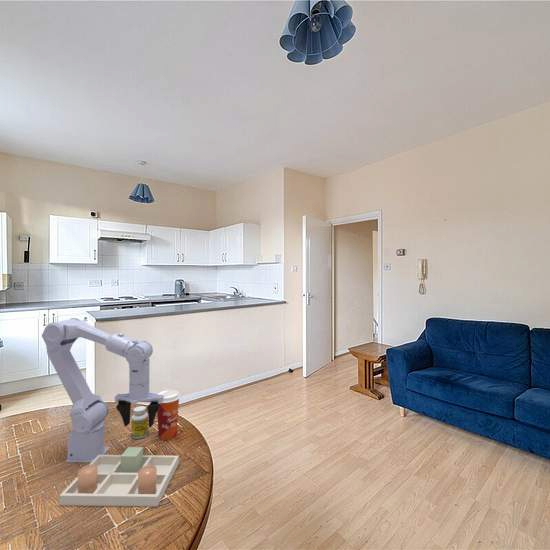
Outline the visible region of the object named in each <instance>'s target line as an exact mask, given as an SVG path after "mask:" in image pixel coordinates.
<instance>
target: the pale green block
mask: <svg viewBox="0 0 550 550" xmlns="http://www.w3.org/2000/svg"><path fill="white" fill-rule="evenodd" d="M120 455H121V473H138V471H139V470H140V469H141V468H142V467H143V455H144V447H143V446H128V447H127V448H126V449H125V451H123V453H122V454H120Z"/></svg>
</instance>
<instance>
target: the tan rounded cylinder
mask: <svg viewBox="0 0 550 550" xmlns="http://www.w3.org/2000/svg"><path fill="white" fill-rule="evenodd" d="M77 477H78V493H86V494H93V493H94V492H95V491H96V489H97V488H98V466H97V465H95V464H91V465H89V464H86V465H85V466H82V467H80V468H79V469H78V471H77Z"/></svg>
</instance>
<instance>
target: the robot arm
mask: <svg viewBox="0 0 550 550" xmlns="http://www.w3.org/2000/svg"><path fill="white" fill-rule="evenodd" d="M41 338H42V339H43V342H44V343H45V347H46V354H47V356H48V358H49V360H50V363H51V364H52V367H53V368H54V370H55V372H56V374H57V376H58V378H59V379H60V381H61V383H62V385H63V387H64V389H65V392H66V393H67V395H68V397H69V399H70V401H71V403H72V405H71V409H70V411H69V415H68V416H69V417H70V419H71V427H72V429H71V431H70V432H69V435H68V436H67V447H66V448H67V459H66V460H65V462H66V463H67V462H68V463H91V462H92V461H93V460H94V459H95V458H96V457H97V456H98V455H105V454H106V452H107V451H108V450H109V449H110V448H111V446H107V445H105V422H106V418H107V417H108V416H109V413H110V407H109V405H108V403H107V402H106V401H104V400H103V399H102V398H101V396H100V395H99V394H95V393H93V392H92V390H91V389H90V387H89V384H88V383H87V381H86V379H85V377H84V375H83V373H82V371H81V370H80V368H79V365H78V363H77V362H76V360H75V358H74V355H73V354H72V352H71V349H72V346H73V344H75V342H77V340H78V339H79V338H83V339H85V340H89V341H92V342H95V343H97V344H101V345H104V346H105V350H106V351H108V352H110V353H113V354H115V355H117V356H120V357H122V358H125V360H126V361H127V363H128V367H129V368H128V369H129V371H128V373H129V374H128V375H129V376H128V377H129V379H128V380H129V383H128V384H129V385H128V386H129V387H128V388H129V390H128V391H129V392H128V393H118V394H116V395H115V396H114V403H115V404H116V403H117V405H116V406H115V409H116V410H117V411H118V412H119V414H120V416H121V418H122V422H123V425H124V427H127V426H129V424H130V422H131V410H132V409H131V406H132V404H138V403H148V405H147V406H146V411H147V414H148V428H151V427H152V426H153V425H155V419H156V415H157V410H158V408H159V405H160V404H161V403H162V402H163V398H164V395H158V393H152V392H150V357H151V356H152V355H153V352H154V351H153V346H152V345H151V343H149V342H147V341H146V340H141V341H138V339H136V338H135V339H133V338H130V337H127V336H125V334H124V333H122V332H120V333H118V332H117V333H114V334H110V333H108V332H105V331H103V330H101V329H99V328H97V327H95V326H93V325H92V324H89V323H87V322H86V321H85V320H83V319H79V318H76V317H72V318H68V319H65V320H64V319H63V320H61V321H55V322H50V323H48V324H47V325H46V326H45V327H44V330H43V331H42V334H41Z"/></svg>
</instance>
